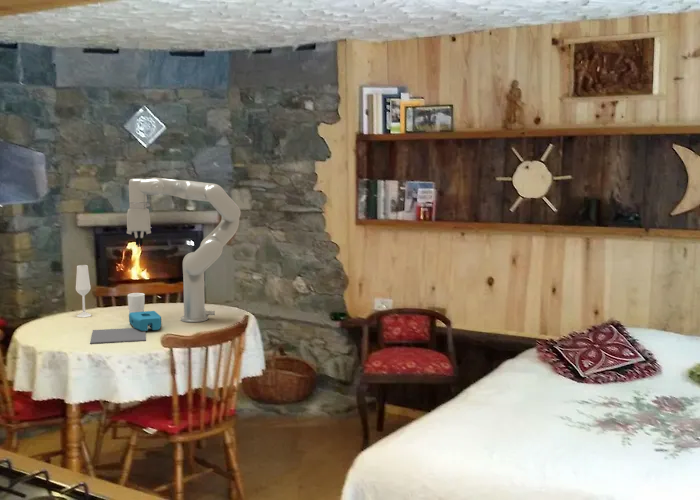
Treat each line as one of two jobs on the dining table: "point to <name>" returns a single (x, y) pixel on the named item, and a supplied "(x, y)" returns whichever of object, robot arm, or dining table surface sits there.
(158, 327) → the block
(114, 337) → the gray square mat
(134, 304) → the white cup
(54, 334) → the dining table surface
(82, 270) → the champagne flute
